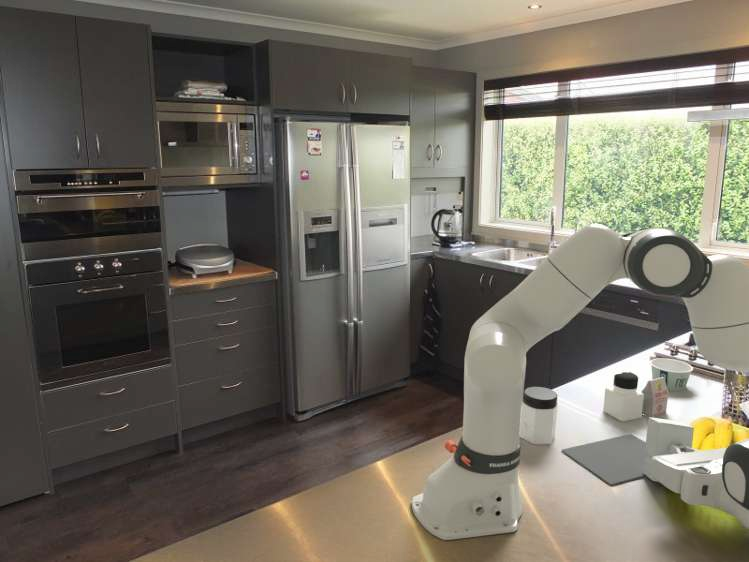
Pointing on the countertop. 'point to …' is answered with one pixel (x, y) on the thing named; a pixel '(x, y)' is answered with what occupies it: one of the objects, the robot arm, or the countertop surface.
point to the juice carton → (655, 397)
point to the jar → (538, 415)
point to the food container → (671, 372)
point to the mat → (612, 458)
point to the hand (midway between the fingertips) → (675, 447)
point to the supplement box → (664, 439)
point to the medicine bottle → (624, 397)
